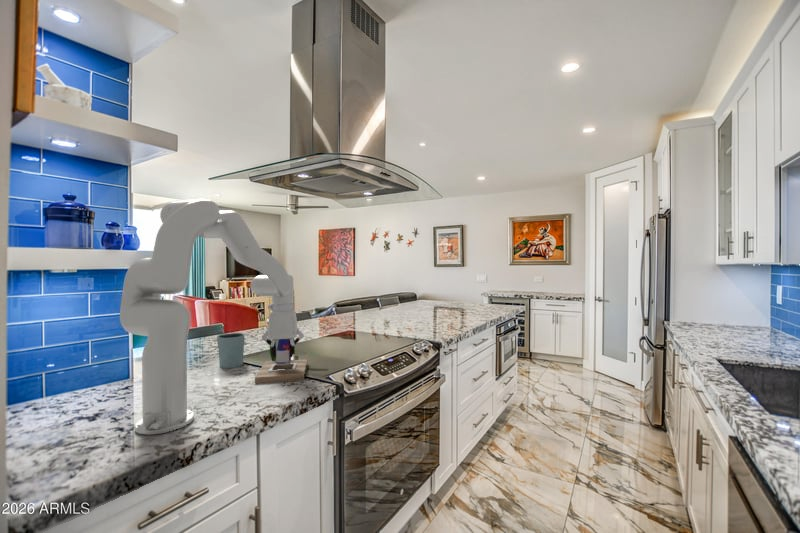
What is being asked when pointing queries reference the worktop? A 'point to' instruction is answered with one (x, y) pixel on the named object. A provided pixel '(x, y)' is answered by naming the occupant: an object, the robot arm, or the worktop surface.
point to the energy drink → (283, 352)
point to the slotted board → (281, 372)
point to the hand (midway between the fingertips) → (283, 356)
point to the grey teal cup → (231, 349)
